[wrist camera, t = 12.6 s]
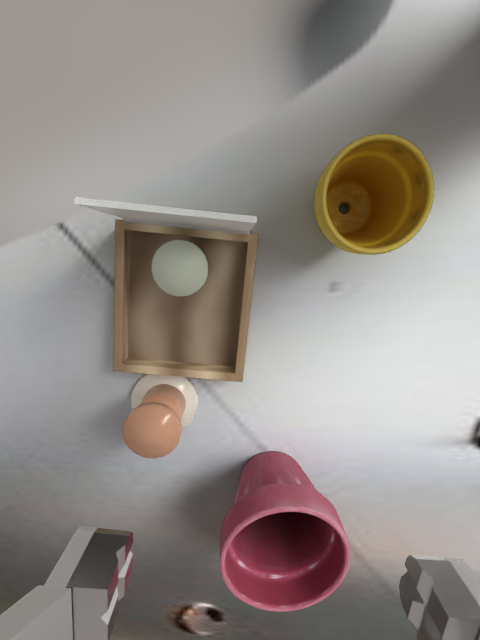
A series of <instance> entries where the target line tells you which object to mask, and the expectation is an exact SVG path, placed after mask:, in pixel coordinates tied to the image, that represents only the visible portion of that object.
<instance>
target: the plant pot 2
mask: <svg viewBox="0 0 480 640" xmlns="http://www.w3.org/2000/svg"><path fill="white" fill-rule="evenodd" d="M433 197H434V180H433V175H432V171H431V168H430V166H429V164H428V162H427V160H426V158H425V156H424V155H423V154H422V152H421V151H420V150H419V149H418V148H417V147H416V146H415V145H414V144H412V143H411V142H409V141H408V140H406V139H404V138H402V137H399V136H396V135H392V134H373V135H369V136H365V137H363V138H360V139H358V140H356V141H354V142H352V143H351V144H349V145H348V146H346V147H345V148H344V149H343V150H342V151H341V152H340V153H339V154H338V155H337V156H336V157H335V158H334V159H333V160H332V161H331V162H330V163H329V165H328V166H327V167H326V169H325V170H324V172H323V174H322V176H321V177H320V180H319V182H318V185H317V188H316V192H315V200H314V207H315V215H316V219H317V222H318V225H319V227H320V229H321V231H322V232H323V234H324V235H325V236H326V238H327V239H328V240H329V241H330V242H331V243H333V244H334V245H335V246H337V247H339V248H340V249H343V250H345V251H348V252H352V253H357V254H381V253H386V252H389V251H392V250H395V249H397V248H399V247H401V246H402V245H404V244H405V243H407V242H408V241H409V240H410V239H412V238H413V237H414V236H415V235H416V234H417V232H418V231H419V230H420V229H421V227H422V226H423V224H424V223H425V221H426V219H427V217H428V215H429V213H430V210H431V207H432V203H433ZM341 203H346V204H347V205H348V211H347V213H345V214H342V213H340V211H339V205H340V204H341Z"/></svg>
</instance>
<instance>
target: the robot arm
mask: <svg viewBox="0 0 480 640" xmlns="http://www.w3.org/2000/svg"><path fill="white" fill-rule="evenodd" d="M132 543H133V532H127V531H119V530H110V529H101V528H91V527H80V528H79V529H78V530H77V531H76V532H75V533H74V535H73V537H72V538H71V540H70V542H69V544H68V545H67V547H66V549H65V550H64V552H63V554H62V556H61V557H60V559H59V561H58V562H57V564H56V566H55V568H54V569H53V571H52V573H51V574H50V576H49V578H48V580H47V581H46V583H45V585H44V586H37V587H36V588H34V589H33V590H32V591H31V592H29V593H28V594H27V595H25V596H24V597H23V598H22V599H20V600H19V601H18V602H16V603H15V604H14V605H13V606H11V607H10V608H9V609H7V610H6V611H5V612H4V613H2V614H1V615H0V640H109V639H110V636H111V633H112V630H113V627H114V624H115V621H116V618H117V615H118V601H119V600H120V599H121V598H122V597H123V596H124V595H125V592H126V588H127V585H128V582H129V578H130V573H131V568H132V561H133V554H132V552H131V551H130V549H131V546H132ZM405 566H406V568H407V570H408V572H406V573H405V574H404V575H403V576H401V580H400V585H399V589H400V598H401V602H402V605H403V608H404V611H405V613H406V615H407V618H408V619H409V620H410V621H411V622H412V623H413V624H414V625H415V626H416V627H417V628H418V630H417V640H480V581H479V580H478V578H477V577H476V575H475V574H474V573H473V571H472V570H471V568H470V567H469V566H468V564H467V563H466V562H465V561H463V560H462V559H454V558H442V557H432V556H417V555H410V556H408V557H407V559H406V562H405Z"/></svg>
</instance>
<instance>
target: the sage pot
mask: <svg viewBox="0 0 480 640" xmlns="http://www.w3.org/2000/svg"><path fill="white" fill-rule="evenodd" d="M152 274H153V277H154V280H155V282H156V283H157V285H158V286H159V287H160V288H161V289H162V290H163V291H165V292H166V293H168V294H170V295H173V296H181V297H182V296H188V295H191V294H193V293H195V292H196V291H198V290H199V289H200V288H201V287H202V286H203V284H204V283H205V281H206V279H207V276H208V260H207V257H206V256H205V254H204V253H203V252H202V250H201V249H200V248H199V247H197V246H196V245H195V244H193V243H191V242H188V241H183V240H173V241H170V242H167V243H165V244H163V245H162V246H161V247H160V248H159V249H158V250H157V251H156V253H155V255H154V257H153V260H152Z"/></svg>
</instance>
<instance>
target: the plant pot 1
mask: <svg viewBox="0 0 480 640" xmlns="http://www.w3.org/2000/svg"><path fill="white" fill-rule="evenodd" d="M349 563H350V547H349V543H348V540H347V537H346V534H345V531H344V529H343V526H342V523H341V521H340V518H339V516H338V514H337V512H336V510H335V508H334V506H333V505H332V504H331V503H330V501H329V500H328V499H327V498H326V497H324V496H323V495H322V494H321V493H319V492H318V491H316V489H315V487H314V486H313V484H312V483H311V481H310V480H309V478H308V477H307V476H306V474H305V473H304V472H303V470H302V469H301V467H300V466H299V464H298V463H297V462H296V461H295V460H294V459H293V458H292V457H290V456H289V455H287V454H284V453H281V452H275V451H271V452H264V453H260V454H258V455H256V456H254V457H253V458H251V459H250V460H249V461H248V462H247V463H246V464H245V466H244V468H243V470H242V473H241V477H240V481H239V484H238V488H237V491H236V495H235V499H234V503H233V506H232V507H231V508H230V510H229V511H228V513H227V515H226V516H225V519H224V521H223V525H222V529H221V541H220V570H221V574H222V577H223V580H224V582H225V584H226V586H227V587H228V588H229V590H230V591H231V592H232V593H233V594H234V595H235V596H236V597H237V598H239V599H240V600H242V601H243V602H245V603H247V604H249V605H251V606H253V607H256V608H259V609H263V610H268V611H280V612H283V611H294V610H299V609H303V608H306V607H309V606H311V605H314V604H316V603H318V602H320V601H321V600H323V599H325V598H326V597H327V596H329V595H330V594H331V593H332V592H334V590H335V589H336V588H337V587H338V586H339V585H340V583H341V582H342V581H343V579H344V577H345V575H346V573H347V571H348V568H349Z"/></svg>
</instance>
